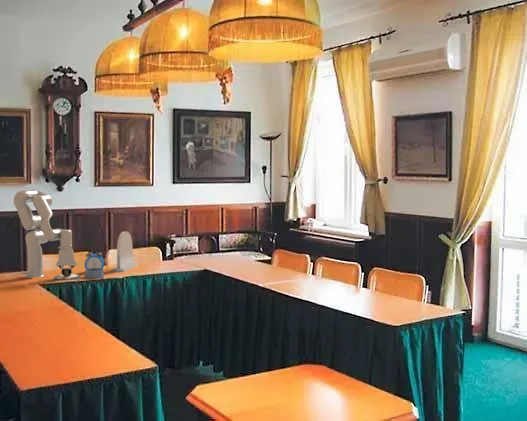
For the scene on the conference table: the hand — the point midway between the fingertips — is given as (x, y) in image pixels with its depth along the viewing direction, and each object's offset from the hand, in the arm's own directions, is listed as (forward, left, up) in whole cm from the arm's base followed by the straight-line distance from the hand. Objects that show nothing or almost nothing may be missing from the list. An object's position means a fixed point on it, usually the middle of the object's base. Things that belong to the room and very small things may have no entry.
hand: (66, 274), depth 436 cm
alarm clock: (+17, +20, -3) cm, 26 cm away
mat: (0, 0, -3) cm, 3 cm away
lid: (0, 0, -2) cm, 2 cm away
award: (+38, +37, -3) cm, 53 cm away
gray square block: (+18, 0, -3) cm, 18 cm away
